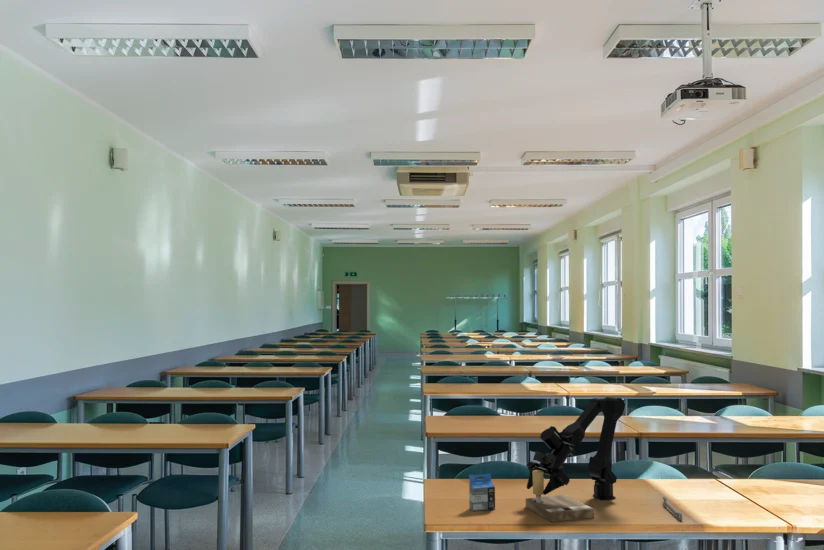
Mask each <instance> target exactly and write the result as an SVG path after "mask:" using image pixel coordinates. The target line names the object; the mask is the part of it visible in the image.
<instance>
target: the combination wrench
mask: <svg viewBox="0 0 824 550" xmlns="http://www.w3.org/2000/svg"><path fill="white" fill-rule="evenodd" d="M662 499H663V501H662V502H661V503H662V506H663V508H667V509H668V510H669V511H670V512H671V513H672V514H673V515H674V516H675V518H676V519H677V520H678V521H680V522H681V521H682V520H683V514H682V512H680V511H677V510H676V509H675V508H673V506H672V505H670V504H669V503H668V500H667V497H666V496H662Z"/></svg>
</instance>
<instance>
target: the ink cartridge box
mask: <svg viewBox="0 0 824 550" xmlns="http://www.w3.org/2000/svg"><path fill="white" fill-rule="evenodd" d="M468 476H469V477H468V478H469V482H468V483H469V486H468V488H469V492H468V495H469V497H468V499H469V500H468V504H469V506H468V507H469V510H471V511H472V512H478V511H480V512H481V511H489V510H490V511H491V510H496V487H495V485H494V484H493V481H492V473H480V474H469V475H468ZM478 478H479V479H478Z"/></svg>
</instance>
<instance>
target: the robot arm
mask: <svg viewBox="0 0 824 550" xmlns="http://www.w3.org/2000/svg"><path fill="white" fill-rule="evenodd" d="M625 408H626V402H624V400H623V398H621V397H614V396H606V397H604V398H600V397H599V398H598V397H594V398H591V400H590V403H589V404H588V405H587V406H586V407H585V409H584V410H583V411H582V413H580V415H579V416H578V418H576V420H575V421H574V422H572V423H569V424H568V425H567V426H566V427H564V428H563V429H562V430H561V431H560V432H559V431H558V430H557V428H556V426H553V425H550V426H549V427H548V428H546V429H544V430H543V431H542V432H541V433H540V436H539V437H540V439H541V440H542V442H543V443H544V444H545V445H546V446H547V447H548V448H549V449H550V450H551V452H546V453H543V452H539V451H534V455H533V458H532V460H531V461H528V462H527V463H526V467H527V470H528V473H529V475H528V480H527V484H526V489H528V490H529V489H531V488H533V471H534V470H541V471H544V475H547V476H549V480H548V483H547V484H546V486H544V491H543V496H546V495H547V494H549V493H552V492H553V491H554V490H557V489H558V488H561V487H564V486H568V485H569V483H570V481H571V480H570V479H571V478H570V476H569V475H568V474H567V473H566V471H564V470H563V469H561V468H565V467H566V465H565V464H564V463H565V462H566V460H567V459H568V457H569V456H572V457H574V456H575V455H576V453H575V452H576V451H575V448H574V447H575V446H576V447H578V446H580V444H581V443H582V442H583V440H584V438H585V436H586V435H585V434H586V430H587V429H588V428H589V426H590V425H591V424H592V422H594V420H595V419H596V418H597V416H598V415H599V414H600V412H602V415H603V421H602V425H601V426H602V427H601V432H600V435H599V436H600V437H599V441H598V444H597V445H598V446H597V450H596V453H595V455H593V456H589V460H588V464H587V467H588V468H587V470H588V473H589V475H590V478H591V481H594V484H593V494H592V496H593V497H594V496H595V497H594V498H597V499H599V500H600V501H601V500H611V499H612V500H613V499H616V496H615V495H614V484H615V483H617V478H618V477H617V475H616V474H614V472H613V471H612V467H613V464H612V461H611V458H610V457H611V456H610V455H611V450H612V446H613V443H614V442H613V441H614V437H615V432H616V428H617V424H618V421H619V419H620V418H621V417H622V416H623V414H624V411H625ZM569 445H570V446H569ZM571 446H574V447H571ZM536 461H537V462H536Z"/></svg>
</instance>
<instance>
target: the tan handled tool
mask: <svg viewBox="0 0 824 550" xmlns="http://www.w3.org/2000/svg"><path fill="white" fill-rule="evenodd" d="M544 475H545V474H544V471H541V470H534V471H533V486H532V494H533V495H534V496H535V498H536V503H541V497H542V495H543V496H544V494H543V491H544V489H545V480H544V478H545V476H544Z"/></svg>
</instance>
